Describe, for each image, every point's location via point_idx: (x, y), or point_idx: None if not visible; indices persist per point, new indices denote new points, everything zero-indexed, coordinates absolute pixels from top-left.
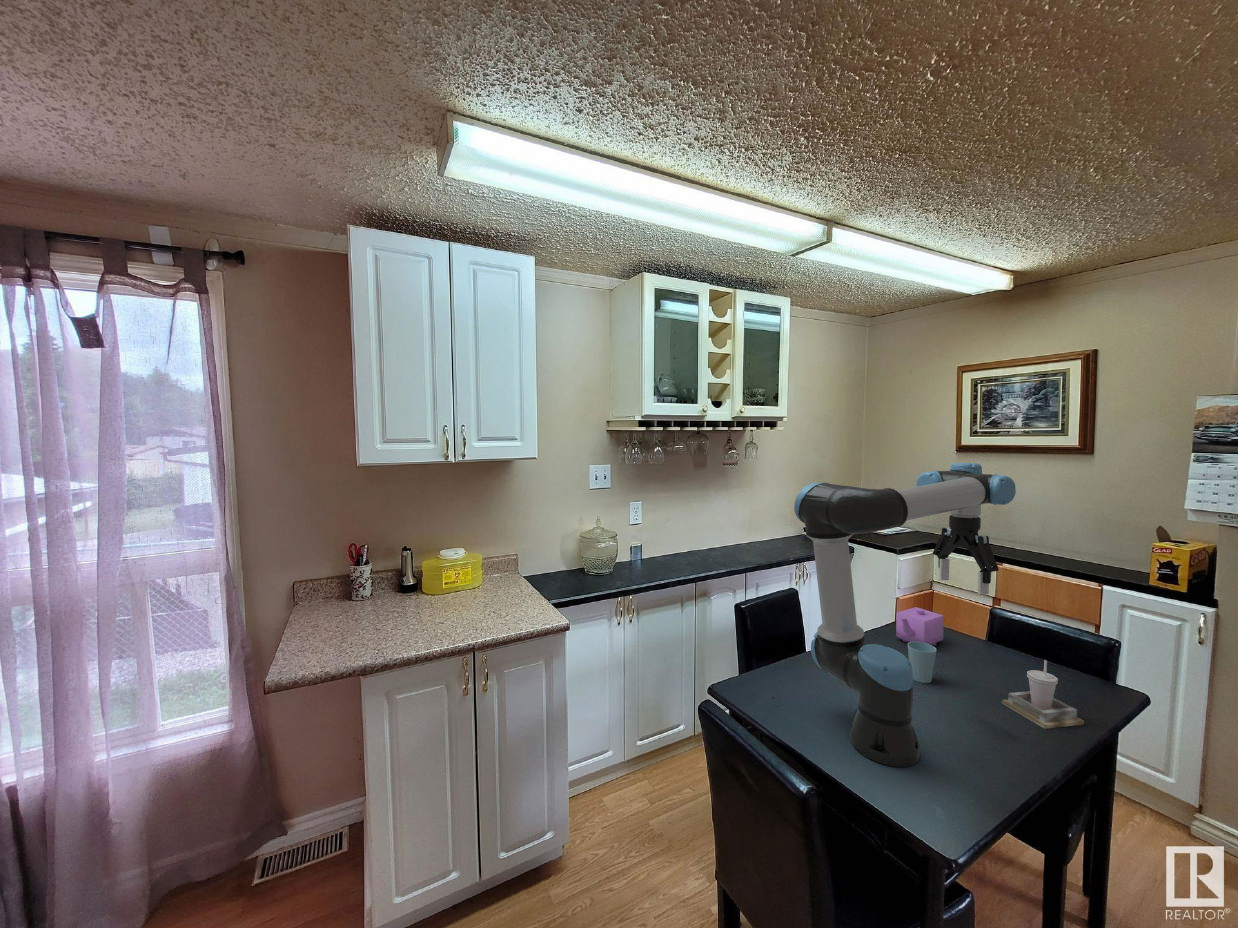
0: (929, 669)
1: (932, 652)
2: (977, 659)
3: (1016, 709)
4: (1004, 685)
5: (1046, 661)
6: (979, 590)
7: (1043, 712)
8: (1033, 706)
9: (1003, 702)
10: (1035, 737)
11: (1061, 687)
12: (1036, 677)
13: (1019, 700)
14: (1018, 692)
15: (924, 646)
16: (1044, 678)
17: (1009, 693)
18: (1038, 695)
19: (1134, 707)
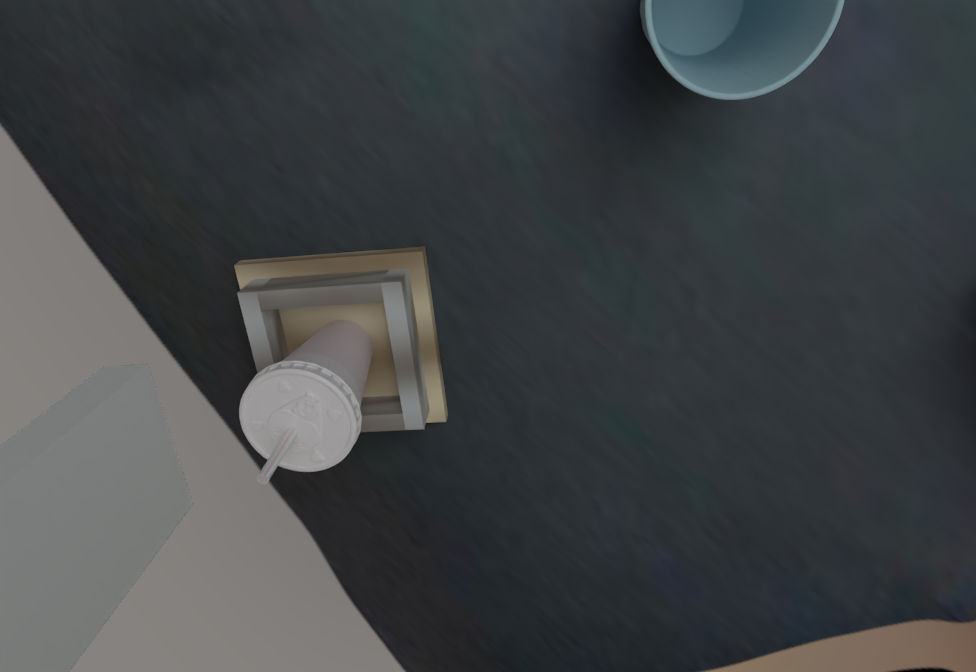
0: (641, 9)
1: (645, 17)
2: (814, 456)
3: (354, 255)
4: (569, 380)
5: (257, 476)
6: (77, 400)
7: (242, 293)
8: (287, 292)
9: (415, 249)
10: (174, 171)
11: (530, 565)
12: (279, 381)
13: (348, 282)
14: (406, 329)
15: (786, 64)
16: (270, 408)
17: (397, 282)
18: (300, 347)
19: (390, 651)
